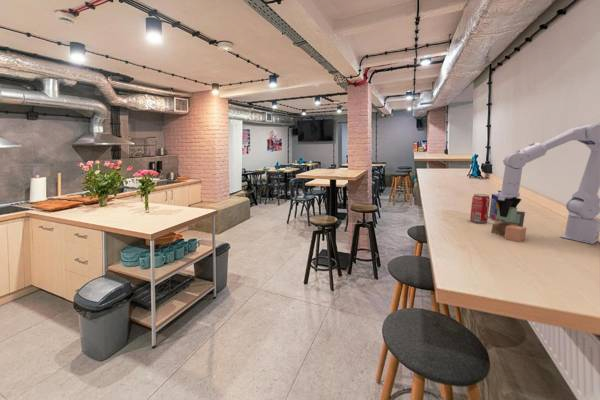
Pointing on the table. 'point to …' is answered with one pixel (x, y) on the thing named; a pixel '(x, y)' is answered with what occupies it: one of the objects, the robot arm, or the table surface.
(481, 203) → the soda can
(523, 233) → the terracotta block
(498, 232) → the walnut block
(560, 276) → the table surface
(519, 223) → the board
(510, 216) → the green block
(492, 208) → the ink cartridge box
